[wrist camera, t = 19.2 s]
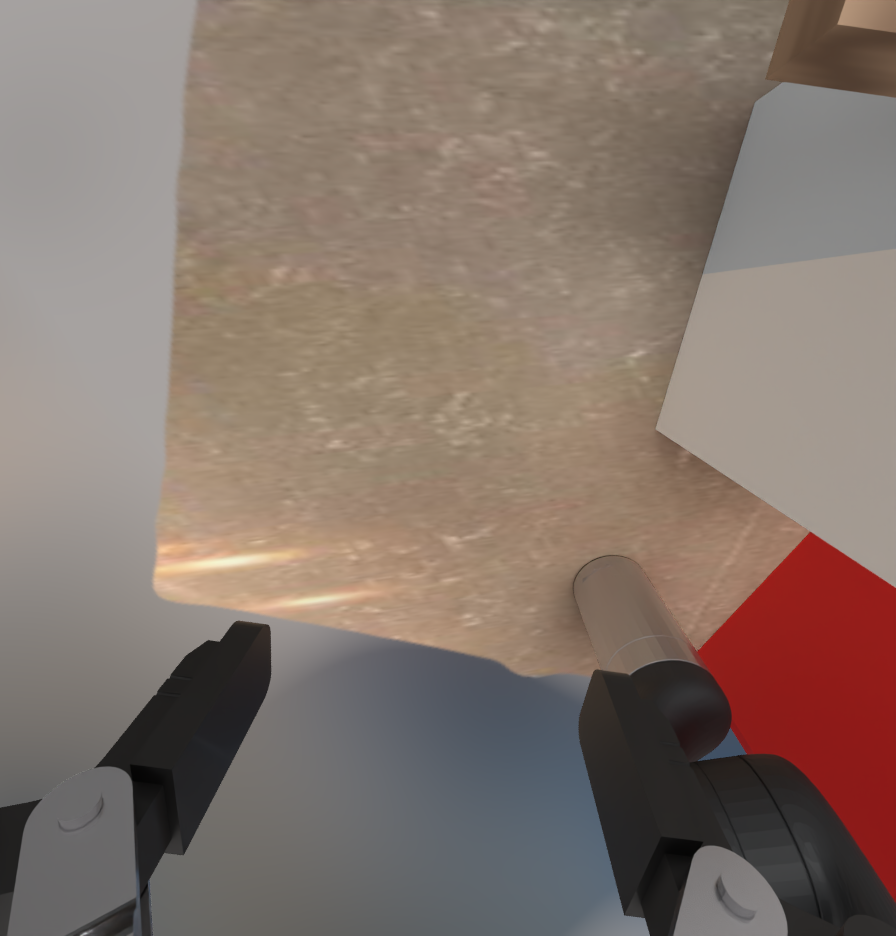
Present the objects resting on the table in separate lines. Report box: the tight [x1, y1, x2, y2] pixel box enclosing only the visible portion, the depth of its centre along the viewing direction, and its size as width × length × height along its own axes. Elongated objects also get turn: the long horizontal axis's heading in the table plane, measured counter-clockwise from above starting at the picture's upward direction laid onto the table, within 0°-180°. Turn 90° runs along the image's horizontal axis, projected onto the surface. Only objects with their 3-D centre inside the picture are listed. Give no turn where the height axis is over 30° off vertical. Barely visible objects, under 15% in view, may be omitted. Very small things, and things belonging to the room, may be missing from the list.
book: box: [697, 532, 896, 902], centre depth 41 cm, size 27×8×32 cm, turn 152°
